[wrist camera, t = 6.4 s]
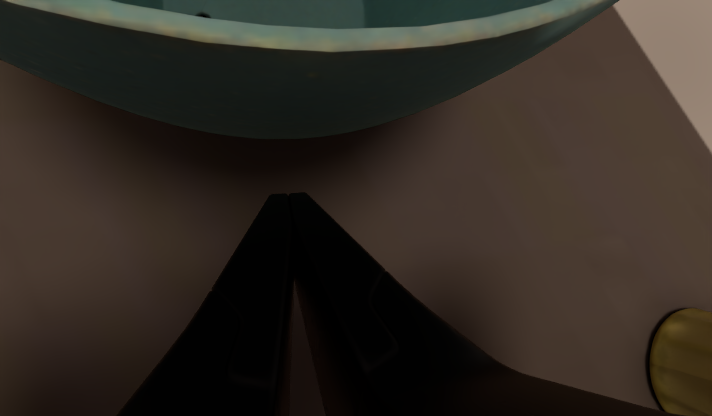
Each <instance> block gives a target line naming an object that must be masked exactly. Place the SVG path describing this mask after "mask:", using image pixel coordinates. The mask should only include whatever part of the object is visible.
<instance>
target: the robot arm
mask: <svg viewBox="0 0 712 416" xmlns="http://www.w3.org/2000/svg"><path fill="white" fill-rule="evenodd" d="M294 281H295V286H296V291H297V296H298V300H299V304H300V308H301V312H302V317H303V321H304V325H305V329H306V334H307V338H308V342H309V346H310V350H311V355H312V359H313V363H314V367H315V372H316V376H317V380H318V384H319V388H320V393H321V397H322V401H323V405H324V410H325V414H326V416H686V415H680V414H673V413H668V412H664V411H659V410H655V409H651V408H647V407H643V406H640V405H636V404H632V403H629V402H625V401H621V400H617V399H614V398H610V397H606V396H603V395H599V394H595V393H592V392H588V391H584V390H581V389H577V388H573V387H570V386H566V385H562V384H559V383H555V382H551V381H548V380H544V379H540V378H536V377H533V376H529V375H526V374H523V373H520V372H518V371H515V370H513V369H511V368H509V367H507V366H505V365H503V364H502V363H500V362H498V361H497V360H495V359H494V358H492V357H491V356H489V355H488V354H487V353H485V352H484V351H483V350H481V349H480V348H479V347H477V346H476V345H475V344H474V343H472V342H471V341H470V340H468V339H467V338H466V337H465V336H463V335H462V334H461V333H459V332H458V331H457V330H456V329H454V328H453V327H452V326H450V325H449V324H448V323H447V322H445V321H444V320H443V319H441V318H440V317H439V316H438V315H436V314H435V313H434V312H432V311H431V310H430V309H429V308H428V307H426V306H425V305H424V304H423V303H421V302H420V301H419V300H418V299H417V298H415V297H414V296H413V295H412V294H411V293H410V292H409V291H408V290H407V289H405V288H404V287H403V286H402V285H401V284H400V283H399V282H398V281H397V280H396V279H395V278H394V277H393V276H392V275H391V274H390V273H388V272H387V271H385V269H384V268H383V267H382V266H381V265H380V264H379V263H378V262H377V261H376V260H375V259H374V258H373V257H372V256H371V255H370V254H369V253H368V252H367V251H366V250H365V249H364V248H363V247H362V246H360V245H359V244H358V243H357V242H356V241H355V240H354V239H353V238H352V237H351V236H350V235H349V234H348V233H347V232H346V231H345V230H344V229H343V228H342V227H341V226H340V225H339V224H338V223H337V222H336V221H335V220H334V219H333V218H332V217H331V216H330V215H329V214H328V213H327V212H325V211H324V210H323V209H322V208H321V207H320V206H319V205H318V204H317V203H316V202H315V201H314V200H313V199H312V198H311V197H310V196H309V195H308V194H307V193H305V192H300V193H290V194H289V195H287V194H286V193H282V194H271V195H269V197H268V198H267V200H266V202H265V203H264V205H263V206H262V208H261V210H260V211H259V213H258V215H257V216H256V218H255V219H254V221H253V223H252V224H251V226H250V227H249V229H248V231H247V232H246V234H245V235H244V237H243V239H242V240H241V242H240V243H239V245H238V247H237V248H236V250H235V252H234V253H233V255H232V256H231V258H230V260H229V261H228V263H227V264H226V266H225V268H224V269H223V271H222V272H221V274H220V276H219V277H218V279H217V281H216V282H215V284H214V285H213V287H212V291H210V292H209V293H208V295H207V296H206V298H205V300H204V301H203V303H202V304H201V306H200V307H199V309H198V310H197V312H196V313H195V315H194V316H193V318H192V319H191V321H190V322H189V324H188V325H187V327H186V328H185V330H184V331H183V332H182V333H181V335H180V336H179V337H178V339H177V340H176V341H175V343H174V344H173V345H172V346H171V348H170V349H169V350H168V352H167V353H166V354H165V355H164V357H163V358H162V359H161V360H160V362H159V363H158V364H157V365H156V367H155V368H154V369H153V370H152V372H151V373H150V374H149V375H148V377H147V378H146V379H145V380H144V382H143V383H142V384H141V385H140V386H139V388H138V389H137V390H136V391H135V393H134V394H133V395H132V396H131V398H130V399H129V400H128V401H127V403H126V404H125V405H124V406H123V408H122V409H121V410H120V411H119V413H118V414H117V415H116V416H289V398H290V374H291V349H292V325H293V301H294Z"/></svg>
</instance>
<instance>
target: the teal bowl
mask: <svg viewBox="0 0 712 416" xmlns="http://www.w3.org/2000/svg"><path fill="white" fill-rule="evenodd" d="M618 1H619V0H0V59H1V60H3V61H5V62H7V63H9V64H12V65H14V66H16V67H18V68H21V69H23V70H25V71H27V72H29V73H32V74H34V75H36V76H38V77H40V78H43V79H45V80H47V81H49V82H52V83H54V84H57V85H59V86H62V87H64V88H67V89H69V90H72V91H74V92H77V93H79V94H81V95H84V96H86V97H89V98H91V99H94V100H96V101H99V102H102V103H105V104H108V105H111V106H114V107H117V108H120V109H122V110H125V111H128V112H131V113H134V114H137V115H140V116H144V117H147V118H151V119H154V120H158V121H162V122H165V123H169V124H172V125H176V126H180V127H185V128H190V129H194V130H199V131H204V132H209V133H214V134H220V135H227V136H236V137H245V138H257V139H303V138H313V137H323V136H331V135H336V134H342V133H348V132H353V131H357V130H361V129H366V128H370V127H374V126H378V125H381V124H384V123H387V122H390V121H393V120H396V119H399V118H402V117H405V116H408V115H412V114H415V113H417V112H420V111H422V110H424V109H427V108H429V107H432V106H434V105H436V104H439V103H441V102H444V101H446V100H449V99H451V98H453V97H456V96H458V95H460V94H462V93H464V92H466V91H468V90H470V89H472V88H474V87H476V86H478V85H480V84H482V83H484V82H486V81H488V80H490V79H492V78H494V77H496V76H498V75H500V74H502V73H504V72H505V71H507V70H509V69H511V68H513V67H515V66H516V65H518V64H520V63H522V62H524V61H525V60H527V59H529V58H531V57H533V56H535V55H536V54H538V53H539V52H541V51H543V50H544V49H546V48H547V47H549V46H551V45H552V44H554V43H556V42H557V41H559V40H560V39H562V38H564V37H565V36H567V35H568V34H570V33H572V32H573V31H575V30H576V29H578V28H579V27H581V26H582V25H584V24H585V23H587V22H588V21H590V20H591V19H593V18H594V17H596V16H597V15H598V14H600V13H601V12H603V11H604V10H606V9H607V8H609V7H610V6H612V5H613V4H615V3H616V2H618ZM200 15H205V16H207V17H208V18H203V17H198V16H200Z"/></svg>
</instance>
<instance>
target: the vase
mask: <svg viewBox="0 0 712 416" xmlns="http://www.w3.org/2000/svg"><path fill="white" fill-rule="evenodd" d="M650 376H651V382H652V386H653V389H654V392H655V394H656V397H657V399H658V401H659V403H660V404H661V406H662V408H663V409H664V411H665V412H668V413H673V414H680V415H686V416H712V313H711V312H707V311H704V310H700V309H696V308H689V309H684V310H680V311H678V312H676V313H674V314H672V315H671V316H669V317H668V318H667V319H666V320H665V321H664V322H663V323H662V325H661V326H660V328H659V329H658V331H657V333H656V335H655V337H654V340H653V343H652V347H651V353H650Z"/></svg>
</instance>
